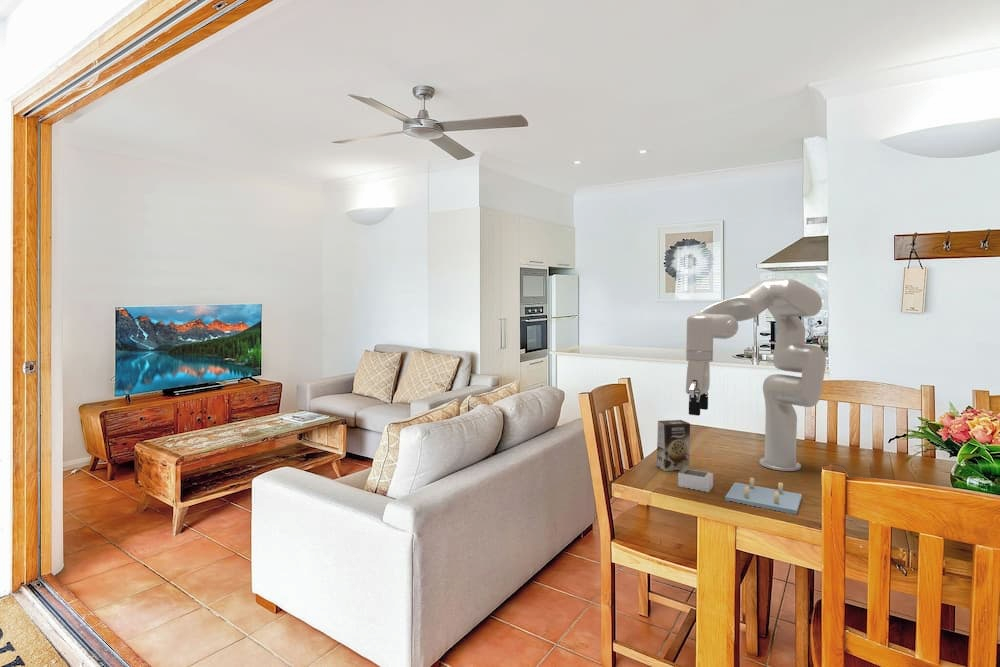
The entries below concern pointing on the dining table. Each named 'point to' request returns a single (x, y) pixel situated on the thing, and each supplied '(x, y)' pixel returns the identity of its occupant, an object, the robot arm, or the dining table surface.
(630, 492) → the dining table surface
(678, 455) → the cookie box
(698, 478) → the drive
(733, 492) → the blue pegged holder base
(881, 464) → the dining table surface
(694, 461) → the dining table surface
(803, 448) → the dining table surface
